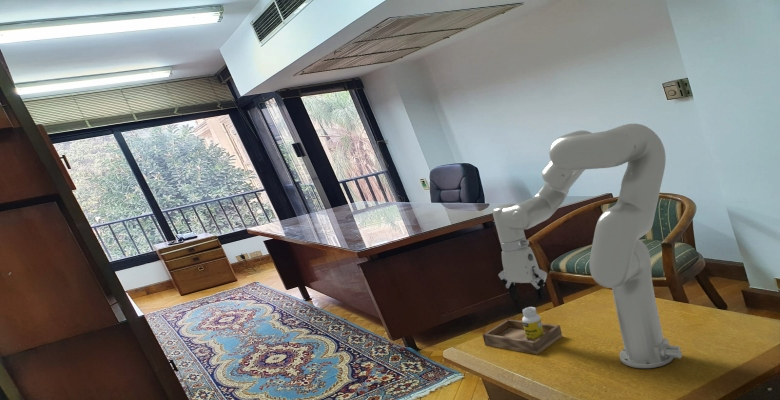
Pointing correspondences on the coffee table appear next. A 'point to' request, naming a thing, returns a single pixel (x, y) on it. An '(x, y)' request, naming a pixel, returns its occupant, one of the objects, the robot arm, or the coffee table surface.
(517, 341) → the tray
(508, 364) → the coffee table surface
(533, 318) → the supplement bottle
